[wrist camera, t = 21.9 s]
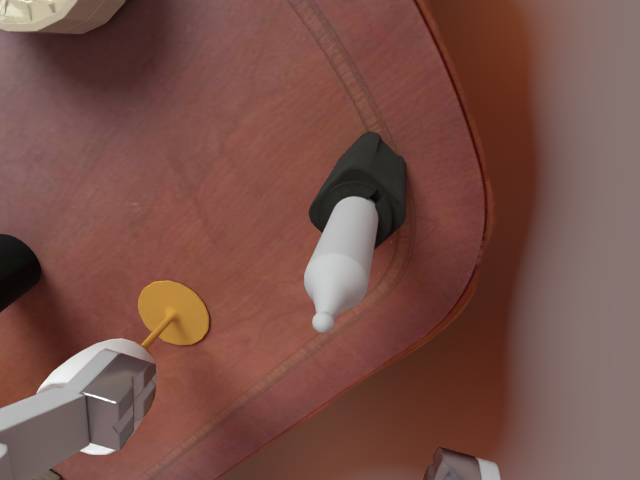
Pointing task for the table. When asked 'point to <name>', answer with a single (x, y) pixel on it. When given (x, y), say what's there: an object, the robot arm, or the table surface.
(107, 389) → the robot arm
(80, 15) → the bowl
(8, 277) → the cup
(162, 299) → the cup
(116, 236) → the table surface
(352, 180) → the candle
